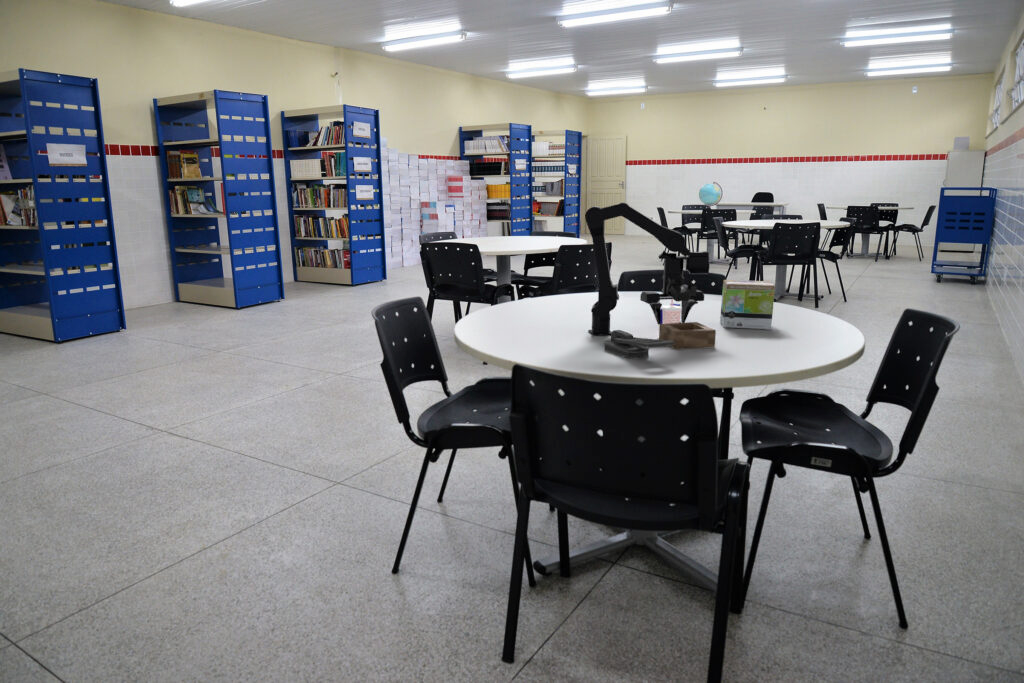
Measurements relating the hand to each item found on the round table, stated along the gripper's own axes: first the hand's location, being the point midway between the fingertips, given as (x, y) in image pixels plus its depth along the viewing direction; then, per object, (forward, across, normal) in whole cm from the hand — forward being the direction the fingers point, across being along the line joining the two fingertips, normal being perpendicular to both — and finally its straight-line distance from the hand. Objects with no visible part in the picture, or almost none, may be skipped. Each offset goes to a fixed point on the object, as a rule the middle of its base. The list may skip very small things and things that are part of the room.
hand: (670, 323), depth 209 cm
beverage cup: (+4, 0, 0) cm, 4 cm away
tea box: (+4, +30, +8) cm, 31 cm away
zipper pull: (+4, -20, -22) cm, 30 cm away
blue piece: (+4, +7, +18) cm, 20 cm away
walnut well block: (+4, 0, -11) cm, 12 cm away
